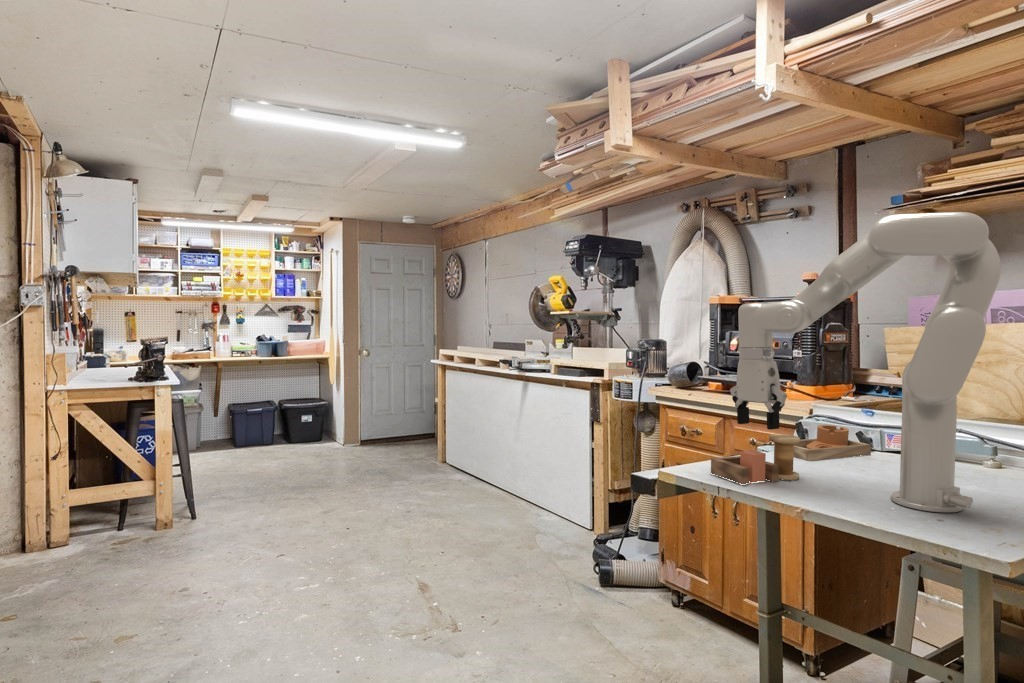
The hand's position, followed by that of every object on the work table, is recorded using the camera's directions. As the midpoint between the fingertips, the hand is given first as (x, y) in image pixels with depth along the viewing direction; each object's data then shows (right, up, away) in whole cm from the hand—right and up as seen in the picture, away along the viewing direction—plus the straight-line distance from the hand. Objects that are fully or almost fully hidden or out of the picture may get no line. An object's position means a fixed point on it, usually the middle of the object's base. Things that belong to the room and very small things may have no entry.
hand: (757, 426), depth 146 cm
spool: (+8, -13, +5) cm, 16 cm away
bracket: (+34, -13, +34) cm, 50 cm away
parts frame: (+32, -13, +32) cm, 47 cm away
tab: (-1, -13, +1) cm, 13 cm away
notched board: (-2, -13, +4) cm, 14 cm away
